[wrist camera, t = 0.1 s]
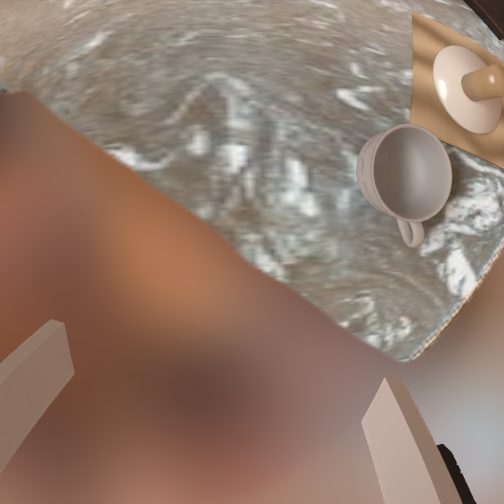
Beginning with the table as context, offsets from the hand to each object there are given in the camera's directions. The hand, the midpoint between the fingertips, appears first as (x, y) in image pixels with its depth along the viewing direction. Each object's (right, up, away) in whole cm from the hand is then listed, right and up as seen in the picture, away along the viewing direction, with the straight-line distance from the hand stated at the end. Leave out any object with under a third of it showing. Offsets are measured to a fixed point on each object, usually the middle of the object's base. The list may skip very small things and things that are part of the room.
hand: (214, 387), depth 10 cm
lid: (+33, +29, +19) cm, 48 cm away
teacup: (+19, +14, +25) cm, 34 cm away
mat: (+33, +29, +19) cm, 48 cm away
